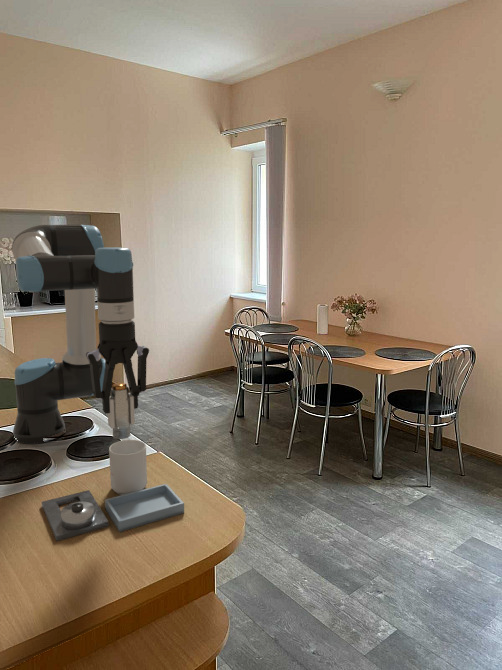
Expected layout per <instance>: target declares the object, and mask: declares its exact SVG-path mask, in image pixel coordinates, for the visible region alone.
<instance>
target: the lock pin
mask: <svg viewBox="0 0 502 670" xmlns="http://www.w3.org/2000/svg"><path fill="white" fill-rule="evenodd" d="M127 385H128V384H127V383H125V382H118V383H117V382H116V383H112V386H111V393H110V397H111V398H112V399H113V400H114V420H115V428H112V437H113V438H114V439H116V440H124V439H125V440H126V439H128V438H130V437H131V424H130V412H129V393H130V390H129V386H127Z"/></svg>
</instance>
